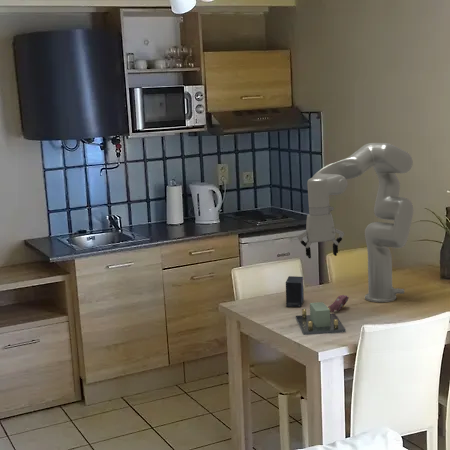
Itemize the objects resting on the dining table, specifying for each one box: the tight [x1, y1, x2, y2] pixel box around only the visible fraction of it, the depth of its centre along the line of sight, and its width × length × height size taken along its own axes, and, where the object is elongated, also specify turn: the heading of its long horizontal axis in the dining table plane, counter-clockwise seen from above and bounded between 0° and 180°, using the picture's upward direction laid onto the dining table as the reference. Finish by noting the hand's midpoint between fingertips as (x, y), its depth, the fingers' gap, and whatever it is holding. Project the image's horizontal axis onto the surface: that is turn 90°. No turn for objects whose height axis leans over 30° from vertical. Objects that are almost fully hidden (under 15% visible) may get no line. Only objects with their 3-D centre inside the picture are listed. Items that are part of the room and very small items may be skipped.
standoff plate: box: [295, 306, 346, 336], centre depth 262 cm, size 15×20×4 cm
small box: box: [285, 275, 305, 308], centre depth 291 cm, size 11×6×10 cm, turn 168°
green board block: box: [309, 301, 331, 327], centre depth 261 cm, size 5×11×6 cm, turn 5°
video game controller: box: [328, 294, 349, 313], centre depth 280 cm, size 10×5×7 cm, turn 149°
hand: (322, 256), depth 265 cm, fingers open, 9 cm apart
